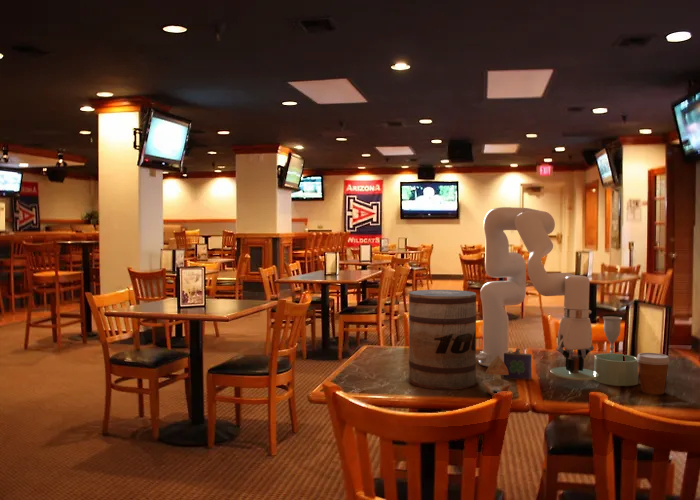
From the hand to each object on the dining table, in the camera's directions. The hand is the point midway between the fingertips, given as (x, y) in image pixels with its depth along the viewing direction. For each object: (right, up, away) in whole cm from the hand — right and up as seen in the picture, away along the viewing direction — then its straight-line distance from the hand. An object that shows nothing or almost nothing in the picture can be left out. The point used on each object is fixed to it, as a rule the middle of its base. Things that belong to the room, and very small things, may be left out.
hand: (574, 369), depth 206 cm
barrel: (-41, -6, +10) cm, 43 cm away
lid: (0, -1, 0) cm, 1 cm away
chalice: (+26, -5, +35) cm, 44 cm away
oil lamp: (-27, -6, -7) cm, 29 cm away
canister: (+17, -6, +8) cm, 19 cm away
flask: (-15, -6, +12) cm, 20 cm away
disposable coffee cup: (+22, -6, -6) cm, 24 cm away
